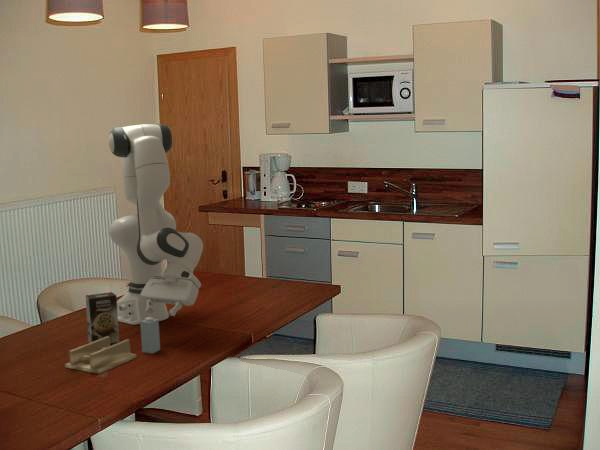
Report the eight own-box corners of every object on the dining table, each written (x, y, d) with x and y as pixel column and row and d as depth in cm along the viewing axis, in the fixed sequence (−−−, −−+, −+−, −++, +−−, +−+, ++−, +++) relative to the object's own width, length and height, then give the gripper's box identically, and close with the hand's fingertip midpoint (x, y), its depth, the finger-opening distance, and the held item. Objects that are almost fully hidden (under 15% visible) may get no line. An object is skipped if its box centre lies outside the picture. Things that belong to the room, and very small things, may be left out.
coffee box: (92, 347, 245) (88, 298, 243) (88, 342, 251) (84, 294, 248) (120, 342, 249) (116, 295, 247) (115, 337, 255) (112, 291, 252)
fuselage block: (142, 352, 238) (140, 319, 237) (150, 348, 242) (148, 315, 240) (152, 353, 236) (149, 320, 235) (160, 349, 240) (158, 317, 238)
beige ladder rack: (64, 367, 226) (63, 350, 225) (102, 351, 240) (101, 335, 239) (99, 373, 219) (98, 356, 218) (136, 357, 233) (135, 340, 232)
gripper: (147, 270, 251) (129, 306, 244) (196, 274, 241) (179, 311, 234) (156, 281, 255) (139, 316, 248) (205, 284, 245) (189, 321, 238)
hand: (159, 313), depth 241 cm, fingers open, 8 cm apart
